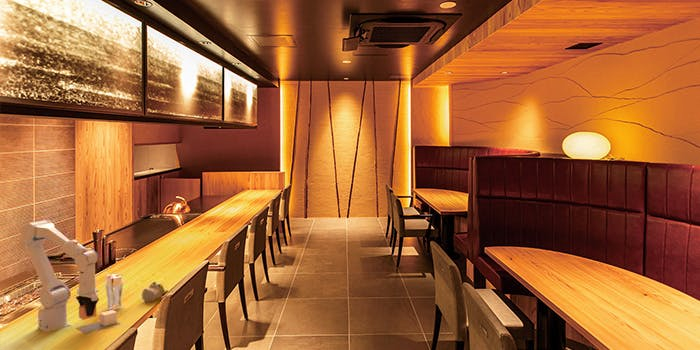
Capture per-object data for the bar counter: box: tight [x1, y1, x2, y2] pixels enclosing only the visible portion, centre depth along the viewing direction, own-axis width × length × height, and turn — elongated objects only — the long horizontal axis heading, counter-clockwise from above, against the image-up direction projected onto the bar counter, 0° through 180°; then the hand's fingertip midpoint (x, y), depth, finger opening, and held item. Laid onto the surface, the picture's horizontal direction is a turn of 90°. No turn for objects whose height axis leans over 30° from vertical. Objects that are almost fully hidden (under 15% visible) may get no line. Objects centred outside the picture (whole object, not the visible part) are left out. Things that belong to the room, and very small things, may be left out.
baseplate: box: [75, 321, 121, 335], centre depth 190 cm, size 14×9×1 cm, turn 141°
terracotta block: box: [78, 305, 97, 321], centre depth 186 cm, size 5×4×4 cm
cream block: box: [99, 310, 118, 326], centre depth 193 cm, size 5×4×4 cm
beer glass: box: [105, 273, 124, 311], centre depth 211 cm, size 7×7×15 cm
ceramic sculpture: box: [141, 281, 169, 303], centre depth 225 cm, size 11×9×15 cm
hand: (87, 314), depth 186 cm, fingers closed on terracotta block, 4 cm apart
